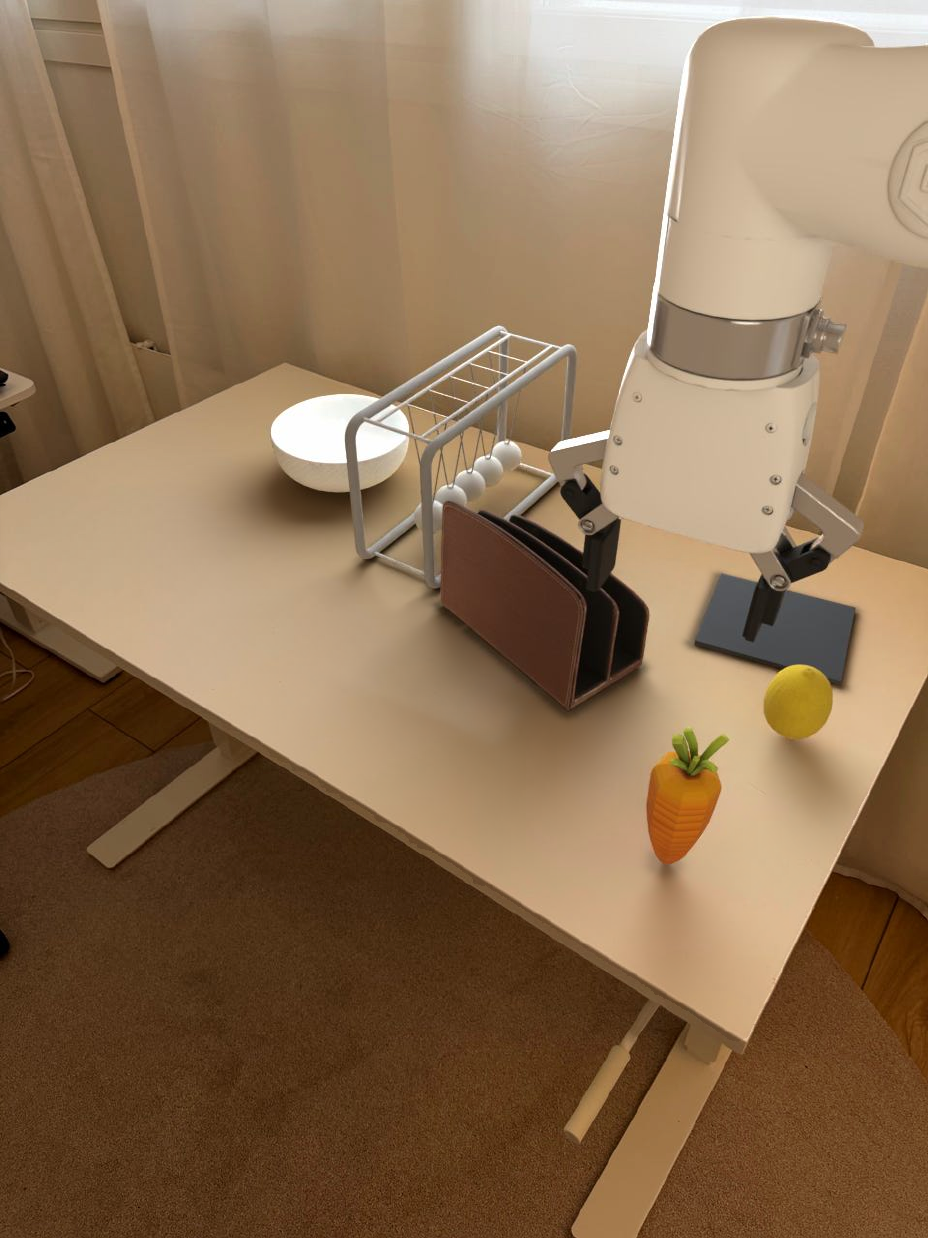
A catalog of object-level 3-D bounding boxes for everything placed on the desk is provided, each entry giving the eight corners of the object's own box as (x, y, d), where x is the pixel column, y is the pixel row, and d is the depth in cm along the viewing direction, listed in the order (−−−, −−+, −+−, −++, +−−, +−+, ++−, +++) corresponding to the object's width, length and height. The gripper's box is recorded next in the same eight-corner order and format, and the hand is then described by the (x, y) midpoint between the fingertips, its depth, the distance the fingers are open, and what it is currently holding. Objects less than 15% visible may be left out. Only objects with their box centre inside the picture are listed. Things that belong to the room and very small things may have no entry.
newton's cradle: (499, 450, 118) (503, 319, 106) (569, 473, 114) (580, 339, 102) (355, 564, 99) (340, 420, 88) (431, 598, 95) (426, 451, 83)
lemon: (826, 726, 81) (850, 662, 76) (808, 766, 77) (833, 702, 72) (766, 702, 83) (786, 639, 78) (746, 740, 80) (766, 676, 74)
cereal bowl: (249, 486, 111) (240, 436, 107) (332, 430, 122) (327, 382, 118) (358, 527, 105) (353, 475, 100) (436, 464, 115) (435, 415, 111)
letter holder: (568, 713, 82) (581, 595, 73) (439, 605, 94) (435, 491, 85) (643, 666, 87) (664, 550, 78) (511, 568, 99) (515, 457, 89)
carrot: (701, 845, 71) (739, 716, 62) (692, 897, 68) (731, 770, 58) (639, 828, 73) (667, 699, 63) (627, 878, 69) (654, 751, 59)
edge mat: (854, 611, 93) (855, 607, 93) (839, 685, 85) (841, 681, 85) (720, 576, 98) (721, 573, 97) (694, 644, 89) (694, 640, 89)
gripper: (930, 334, 42) (834, 610, 53) (590, 273, 49) (568, 531, 60) (907, 400, 37) (806, 689, 48) (531, 322, 44) (519, 594, 55)
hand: (674, 602), depth 54 cm, fingers open, 9 cm apart
